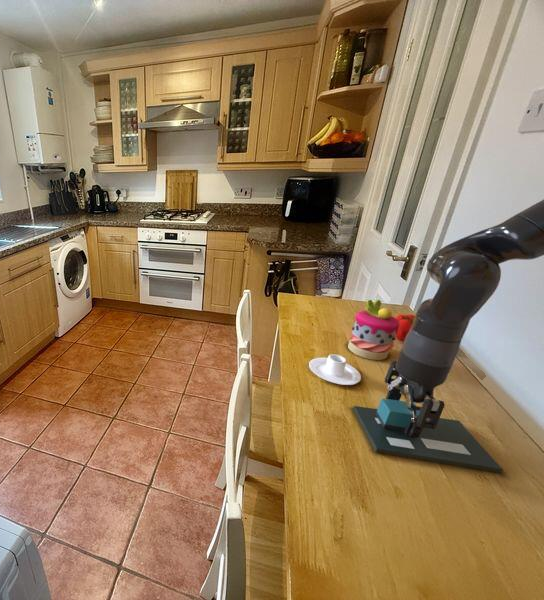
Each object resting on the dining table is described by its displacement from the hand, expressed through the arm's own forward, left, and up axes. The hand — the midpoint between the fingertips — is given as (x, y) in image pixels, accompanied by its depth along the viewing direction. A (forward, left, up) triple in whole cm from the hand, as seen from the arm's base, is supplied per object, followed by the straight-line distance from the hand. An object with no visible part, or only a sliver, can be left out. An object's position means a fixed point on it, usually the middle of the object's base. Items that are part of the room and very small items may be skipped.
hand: (399, 420), depth 66 cm
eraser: (+1, 0, -1) cm, 1 cm away
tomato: (-20, -42, -2) cm, 47 cm away
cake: (-6, -32, -2) cm, 33 cm away
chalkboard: (-3, +2, -2) cm, 4 cm away
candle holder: (+7, -18, -2) cm, 19 cm away
